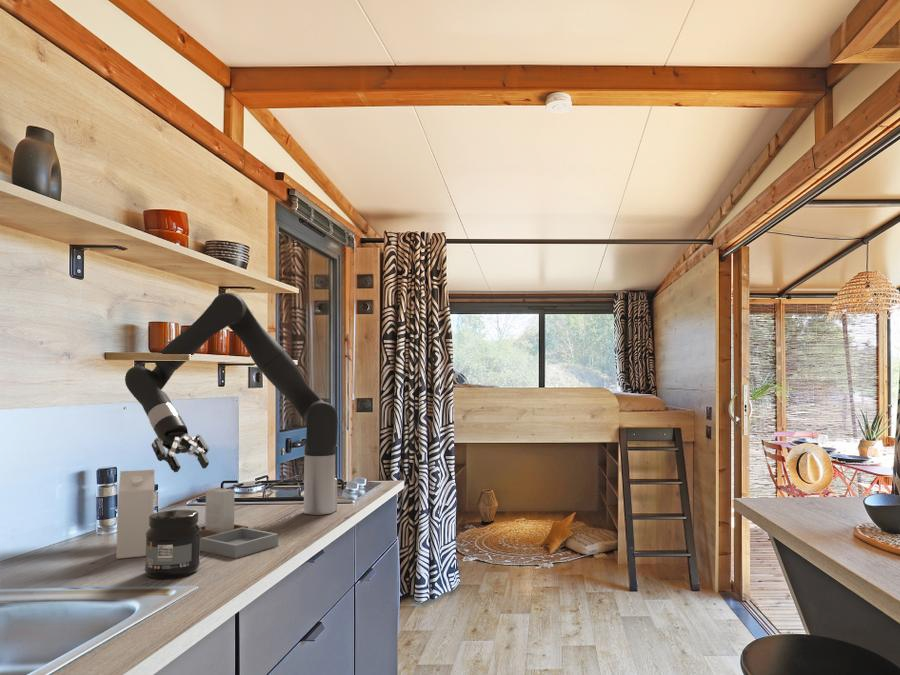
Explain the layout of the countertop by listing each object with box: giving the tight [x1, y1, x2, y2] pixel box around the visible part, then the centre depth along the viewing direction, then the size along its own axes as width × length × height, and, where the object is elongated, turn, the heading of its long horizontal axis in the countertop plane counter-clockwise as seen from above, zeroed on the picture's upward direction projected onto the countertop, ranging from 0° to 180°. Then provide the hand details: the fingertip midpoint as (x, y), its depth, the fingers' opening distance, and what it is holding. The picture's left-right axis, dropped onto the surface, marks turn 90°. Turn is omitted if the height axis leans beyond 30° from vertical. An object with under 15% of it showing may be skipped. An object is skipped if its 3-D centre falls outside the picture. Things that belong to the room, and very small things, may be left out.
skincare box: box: [204, 487, 235, 533], centre depth 160 cm, size 6×4×12 cm
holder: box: [199, 523, 249, 538], centre depth 160 cm, size 9×11×2 cm
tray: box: [200, 527, 279, 559], centre depth 150 cm, size 13×13×3 cm
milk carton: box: [115, 469, 155, 560], centre depth 146 cm, size 7×7×19 cm
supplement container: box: [144, 509, 201, 580], centre depth 131 cm, size 10×10×12 cm
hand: (192, 468), depth 167 cm, fingers open, 8 cm apart
